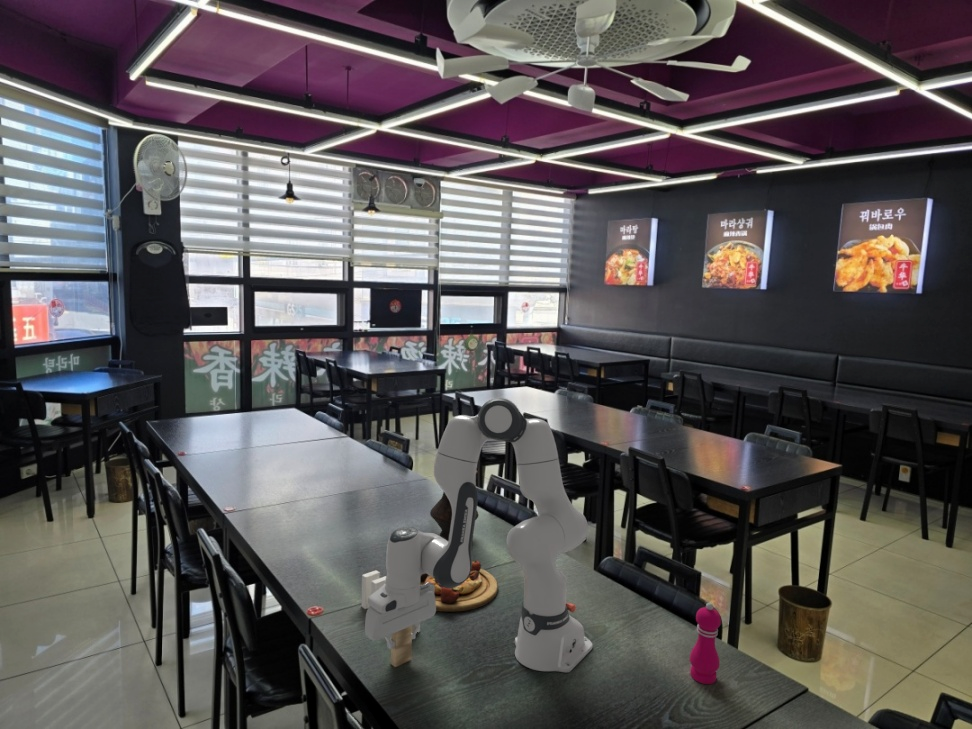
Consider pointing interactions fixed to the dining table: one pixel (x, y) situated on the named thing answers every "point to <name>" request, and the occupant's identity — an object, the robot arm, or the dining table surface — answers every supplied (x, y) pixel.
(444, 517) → the jug
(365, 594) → the domino
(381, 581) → the domino
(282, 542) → the dining table surface
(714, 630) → the pepper mill
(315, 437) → the dining table surface
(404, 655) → the domino
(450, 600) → the wooden plate with food
